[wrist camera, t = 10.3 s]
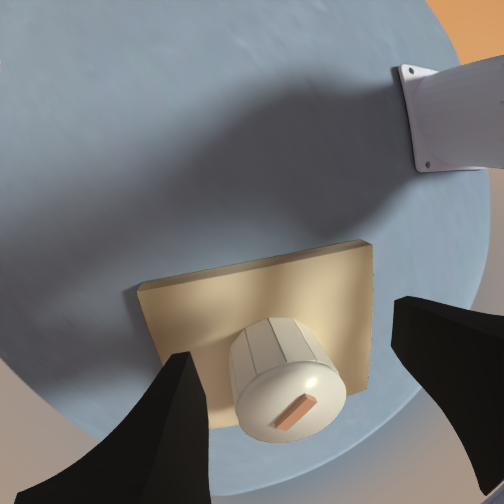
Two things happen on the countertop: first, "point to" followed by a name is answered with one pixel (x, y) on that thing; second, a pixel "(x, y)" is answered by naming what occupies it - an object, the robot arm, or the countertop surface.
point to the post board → (265, 313)
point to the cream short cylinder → (283, 381)
